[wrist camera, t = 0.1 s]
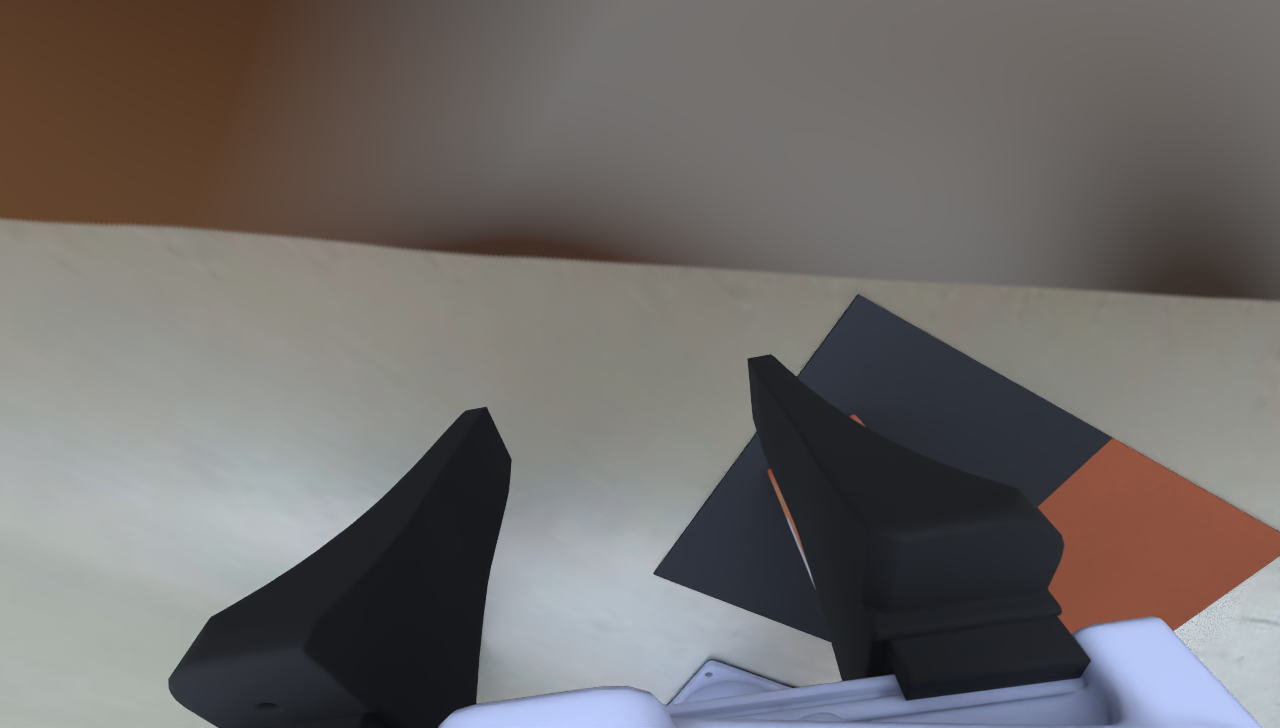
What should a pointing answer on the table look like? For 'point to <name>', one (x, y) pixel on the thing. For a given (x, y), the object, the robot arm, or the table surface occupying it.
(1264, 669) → the table surface
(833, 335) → the desk mat
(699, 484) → the table surface
